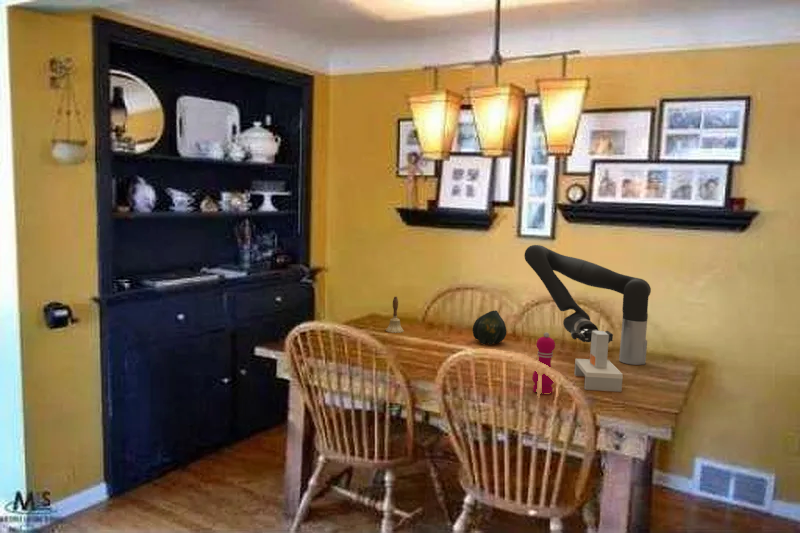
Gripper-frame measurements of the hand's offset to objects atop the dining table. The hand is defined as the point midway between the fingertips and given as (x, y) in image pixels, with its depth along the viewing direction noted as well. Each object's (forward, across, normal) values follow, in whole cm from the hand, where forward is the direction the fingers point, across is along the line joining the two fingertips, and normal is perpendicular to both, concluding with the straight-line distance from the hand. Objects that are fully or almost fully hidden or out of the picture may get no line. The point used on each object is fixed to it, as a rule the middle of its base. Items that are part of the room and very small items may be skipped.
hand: (596, 339), depth 230 cm
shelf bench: (+6, 0, +14) cm, 15 cm away
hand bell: (-60, -76, +14) cm, 98 cm away
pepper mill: (+20, -22, +14) cm, 33 cm away
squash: (-46, -34, +14) cm, 59 cm away
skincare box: (+6, 0, +8) cm, 10 cm away
